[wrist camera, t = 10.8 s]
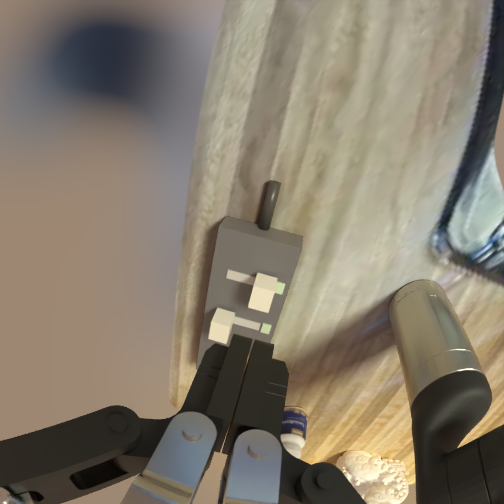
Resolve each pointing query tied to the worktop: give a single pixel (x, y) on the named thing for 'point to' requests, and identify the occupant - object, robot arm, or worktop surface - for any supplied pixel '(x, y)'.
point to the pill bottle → (294, 429)
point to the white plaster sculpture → (374, 476)
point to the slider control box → (249, 273)
